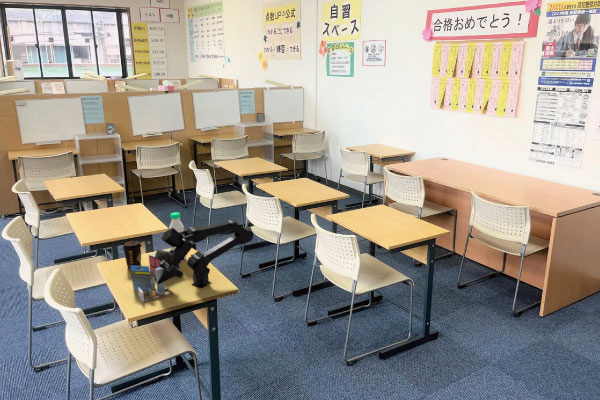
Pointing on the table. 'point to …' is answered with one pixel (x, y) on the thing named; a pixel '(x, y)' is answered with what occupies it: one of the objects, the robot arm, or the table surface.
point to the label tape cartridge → (142, 278)
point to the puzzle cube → (155, 262)
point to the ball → (154, 294)
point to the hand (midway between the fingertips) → (156, 282)
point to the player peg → (161, 286)
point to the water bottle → (176, 225)
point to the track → (164, 294)
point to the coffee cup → (132, 253)
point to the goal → (145, 294)
